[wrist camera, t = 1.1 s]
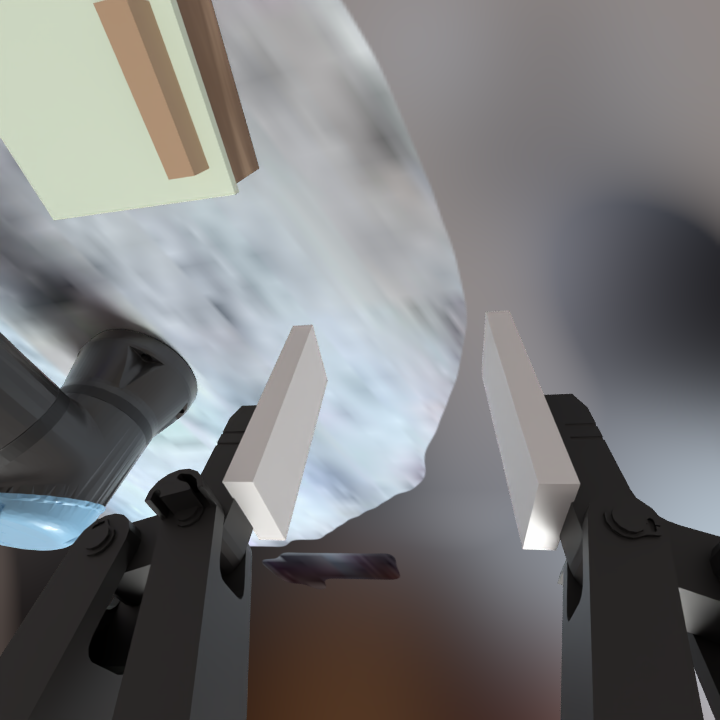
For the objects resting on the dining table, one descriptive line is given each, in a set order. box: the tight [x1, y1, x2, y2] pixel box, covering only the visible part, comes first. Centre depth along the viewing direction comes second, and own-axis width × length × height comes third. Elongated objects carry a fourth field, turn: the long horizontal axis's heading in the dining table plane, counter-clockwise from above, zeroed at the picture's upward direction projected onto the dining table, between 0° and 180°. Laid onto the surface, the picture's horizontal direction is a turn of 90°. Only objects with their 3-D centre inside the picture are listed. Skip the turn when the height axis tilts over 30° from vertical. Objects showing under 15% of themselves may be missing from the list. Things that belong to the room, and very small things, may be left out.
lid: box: [0, 0, 239, 220], centre depth 25 cm, size 17×13×3 cm
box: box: [176, 0, 259, 183], centre depth 29 cm, size 16×12×6 cm
